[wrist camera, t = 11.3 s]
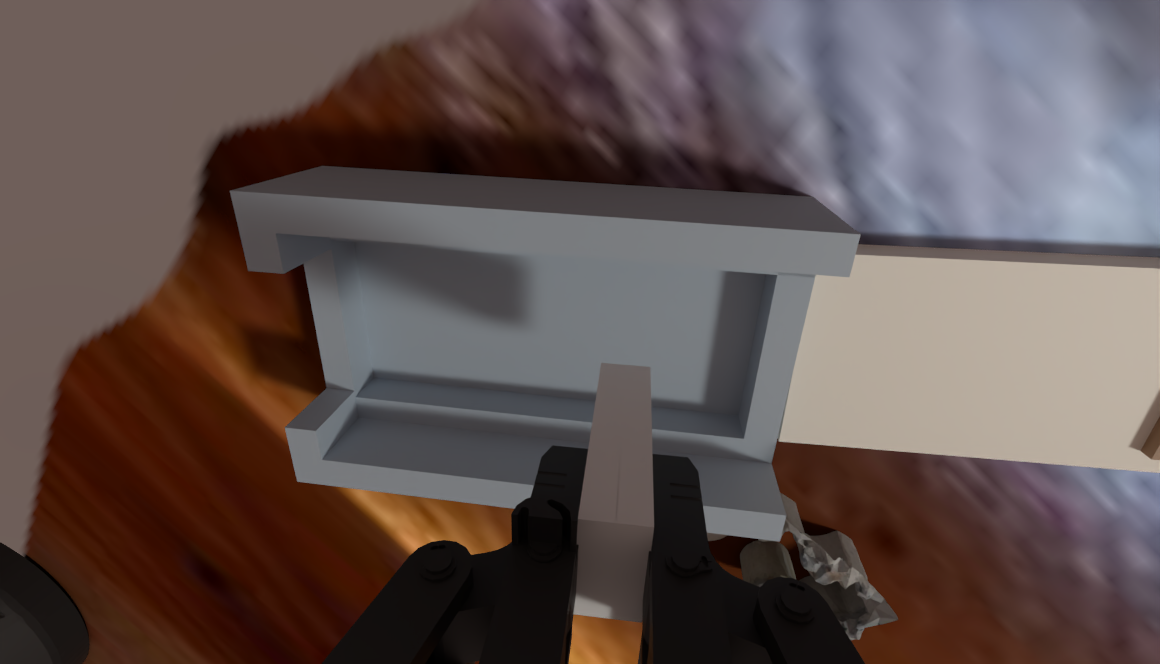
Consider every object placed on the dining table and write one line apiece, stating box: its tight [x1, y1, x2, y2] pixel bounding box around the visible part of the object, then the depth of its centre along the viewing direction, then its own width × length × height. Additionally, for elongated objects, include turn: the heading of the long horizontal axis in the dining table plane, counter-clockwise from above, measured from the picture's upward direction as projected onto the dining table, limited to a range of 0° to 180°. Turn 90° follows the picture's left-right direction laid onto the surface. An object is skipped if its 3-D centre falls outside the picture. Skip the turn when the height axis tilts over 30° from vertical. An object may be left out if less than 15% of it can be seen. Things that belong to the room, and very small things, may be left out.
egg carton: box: [707, 493, 898, 640], centre depth 24 cm, size 11×8×4 cm
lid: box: [778, 244, 1160, 473], centre depth 20 cm, size 16×8×2 cm, turn 89°
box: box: [230, 166, 861, 542], centre depth 20 cm, size 18×11×5 cm, turn 88°
